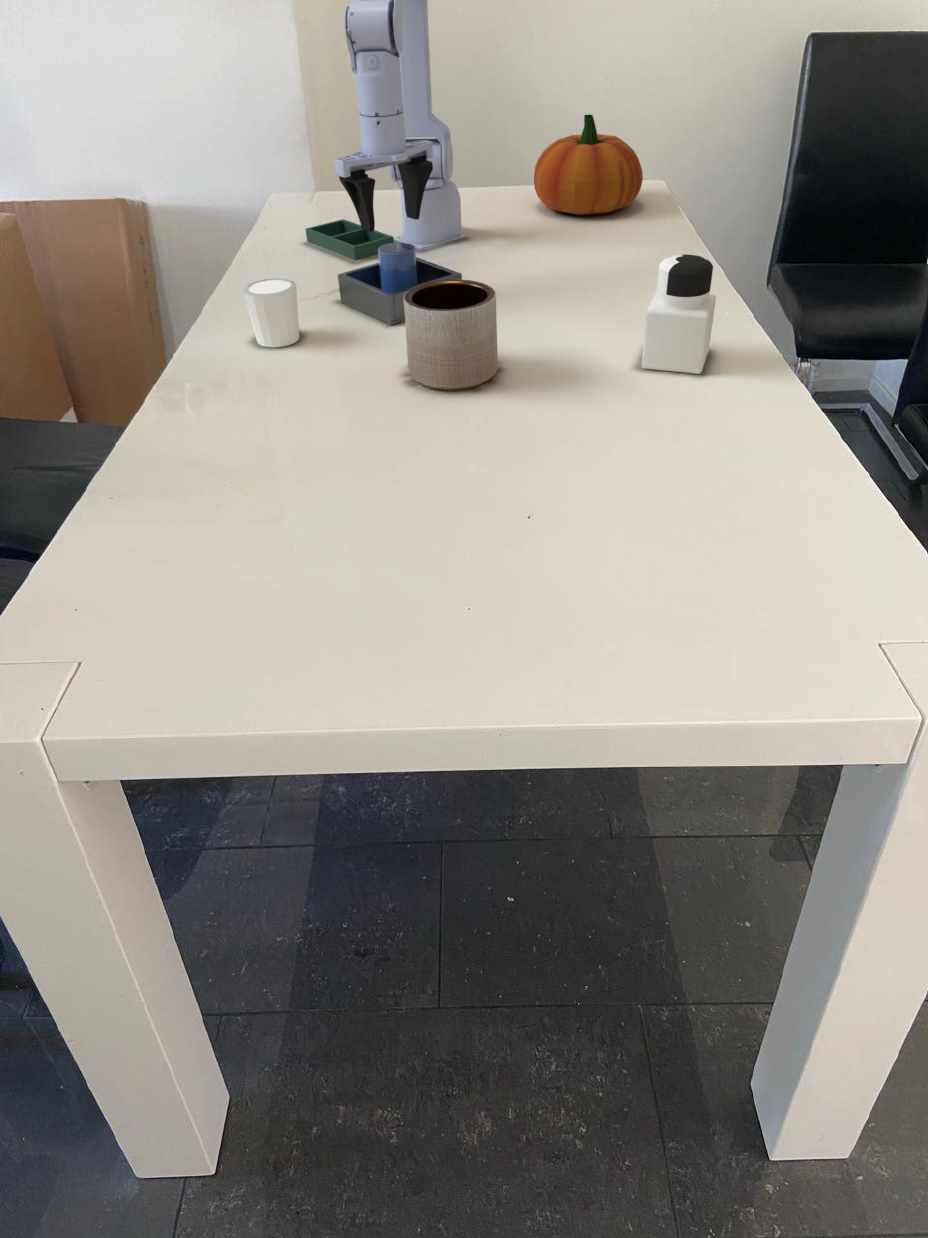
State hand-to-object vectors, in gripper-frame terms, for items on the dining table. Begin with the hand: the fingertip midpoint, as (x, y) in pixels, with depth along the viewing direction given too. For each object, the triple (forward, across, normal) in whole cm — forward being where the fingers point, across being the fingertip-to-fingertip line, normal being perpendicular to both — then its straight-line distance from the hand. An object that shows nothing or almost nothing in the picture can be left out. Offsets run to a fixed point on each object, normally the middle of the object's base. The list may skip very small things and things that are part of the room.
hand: (390, 223), depth 124 cm
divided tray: (+10, +9, +25) cm, 29 cm away
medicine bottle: (+10, +11, -42) cm, 45 cm away
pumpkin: (+11, +52, +14) cm, 55 cm away
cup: (+10, -1, -2) cm, 10 cm away
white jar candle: (+10, -20, -1) cm, 23 cm away
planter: (+10, -11, -26) cm, 30 cm away
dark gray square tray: (+10, 0, -2) cm, 10 cm away
